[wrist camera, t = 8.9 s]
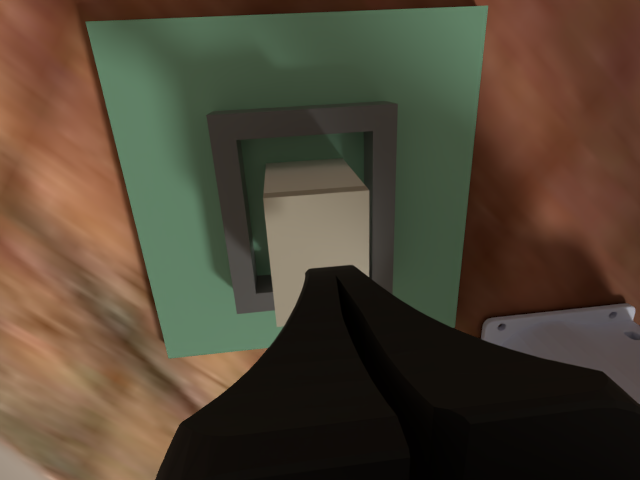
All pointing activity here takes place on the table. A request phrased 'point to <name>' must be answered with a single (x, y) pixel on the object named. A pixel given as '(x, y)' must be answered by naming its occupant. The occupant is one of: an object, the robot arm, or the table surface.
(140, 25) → the board
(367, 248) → the plug
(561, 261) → the table surface
